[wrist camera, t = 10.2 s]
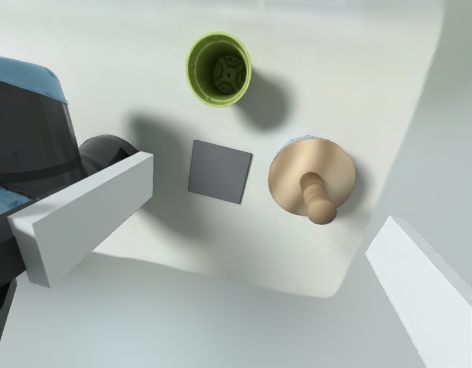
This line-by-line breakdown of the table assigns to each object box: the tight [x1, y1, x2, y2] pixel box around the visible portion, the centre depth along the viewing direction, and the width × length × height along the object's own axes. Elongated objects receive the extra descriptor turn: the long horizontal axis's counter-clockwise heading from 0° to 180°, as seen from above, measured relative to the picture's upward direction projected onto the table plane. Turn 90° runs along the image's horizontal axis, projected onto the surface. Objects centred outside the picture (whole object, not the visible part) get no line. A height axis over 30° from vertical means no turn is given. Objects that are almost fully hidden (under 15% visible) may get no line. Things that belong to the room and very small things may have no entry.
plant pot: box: [186, 31, 252, 107], centre depth 33 cm, size 9×9×9 cm
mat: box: [188, 140, 251, 204], centre depth 45 cm, size 12×12×1 cm
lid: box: [268, 138, 356, 225], centre depth 32 cm, size 14×14×12 cm
